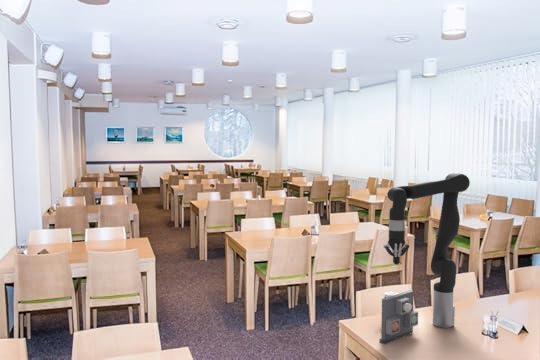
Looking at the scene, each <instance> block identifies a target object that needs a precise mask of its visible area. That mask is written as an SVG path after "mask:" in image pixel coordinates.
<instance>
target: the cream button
mask: <svg viewBox="0 0 540 360" xmlns="http://www.w3.org/2000/svg"><path fill="white" fill-rule="evenodd" d="M411 309H412V305H411V304H410V303H406V302H404V303H403V305H402V310H403V311H405V312H408V313H409V312H410V311H411Z"/></svg>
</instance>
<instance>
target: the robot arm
mask: <svg viewBox="0 0 540 360" xmlns="http://www.w3.org/2000/svg"><path fill="white" fill-rule="evenodd" d="M470 184H471V182H470V179H469V177H468V176H467V175H465V174H463V173H457V172H454V173H452V172H451V173H449V174H448V175H447V176H445V179H441V180H435V181H434V180H433V181H425V182H420V183H419V182H418V183H414V184H410V185H401V186H395V187H392V188H390V189H389V190H388V191H387V198H388V200H390V201H391V202H392V206H391V207H390V209H389V217H388V218H389V220H388V241H387V243H386V245H385V244H384V245H383V248H384V249H385V251H386V252H387V254H389V256H391V257H392V263H393V264H394V265H399V264H400V262H401V261H400V260H401V257H402V256H404V255H405V254H406V252H407V251H408V250H409V248H410V245H409V244H407V243H406V241H405V234H406V232H405V231H406V230H405V229H406V224H405V222H406V221H405V211H406V207H407V203H408V200H416V199H422V198H426V197H429V196H435V195H438V194H439V195H440V194H443V197H442V205H441V210H440V217H439V223H438V230H437V231H438V232H437V236H436V241H435V246H434V251H433V254H432V258H431V262H430V270H431V272H432V273H433V274H434V275H436V276H439V282H435V283H434V284H433V292H432V293H433V298H432V299H433V300H432V302H433V303H432V304H433V305H432V325H434V326H435V327H438V328H443V329H444V328H445V329H446V328H452V327H455V317H456V316H455V315H456V314H455V313H456V312H455V309H456V308H455V306H454V290H455V289H454V288H455V286H456V280H457V264H456V262H455V261H454V260H452V259H449V258H447V255H448V249H449V247H450V245H451V244H452V242H453V241H454V239H456V237H457V235H458V233H459V228H460V222H461V221H460V220H461V219H460V212H459V209H458V208H459V207H458V197H459V193H462V192H465V191H467V190H468V188H469V187H470ZM390 248H391V249H390Z"/></svg>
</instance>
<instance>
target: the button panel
mask: <svg viewBox="0 0 540 360" xmlns="http://www.w3.org/2000/svg"><path fill="white" fill-rule="evenodd" d="M404 302H406V303H410V304H411V305H412V309H411V311H410V312H409V313H408V312H405V311H403V310H402V305H403V303H404ZM412 315H415V316H416V317H417V321H416V323H415V324H412V323H411V316H412ZM393 322H397V323H398V325H399V327H398V330H397V331H393V330H392V324H393ZM418 325H419V311H417V310H414V290H407V291H406V290H405V291H403V292H400V293H398V294H396V295H393V296H390V297H387V298H384V297H383V298H382V299H381V330H380V331H381V334H380V335H381V337H379V343H381V344H383V345H387V344H389V343H391V342H393V341H396V340H399V339H400V338H403V336H404V337H405V336H408V334H409V335H411V334H413V332H414V331H413V330H414V327H416V326H418ZM410 333H411V334H410Z"/></svg>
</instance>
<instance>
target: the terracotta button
mask: <svg viewBox="0 0 540 360" xmlns="http://www.w3.org/2000/svg"><path fill="white" fill-rule="evenodd" d="M398 327H399V325H398V323H397V322H393V324H392V330H393V331H397V330H398Z"/></svg>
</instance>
